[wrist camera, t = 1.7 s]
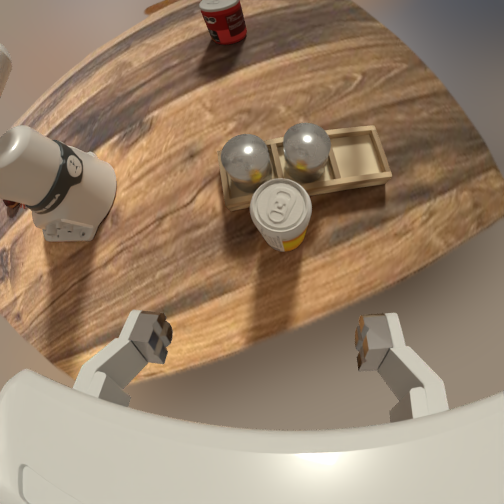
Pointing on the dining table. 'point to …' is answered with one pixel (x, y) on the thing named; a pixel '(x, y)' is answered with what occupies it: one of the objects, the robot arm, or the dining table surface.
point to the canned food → (224, 20)
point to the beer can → (281, 213)
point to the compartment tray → (337, 167)
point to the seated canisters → (295, 154)
